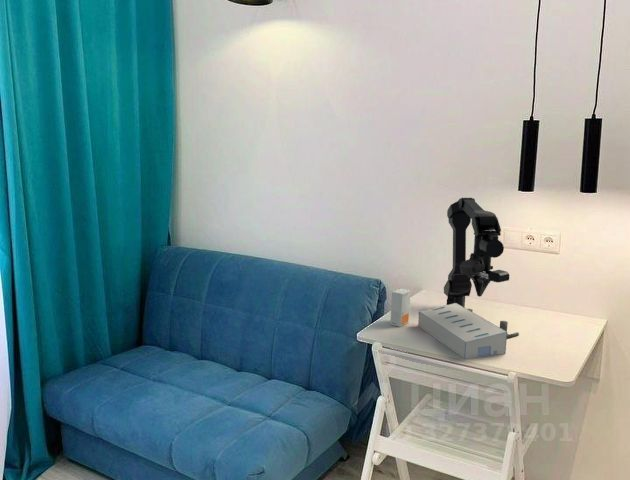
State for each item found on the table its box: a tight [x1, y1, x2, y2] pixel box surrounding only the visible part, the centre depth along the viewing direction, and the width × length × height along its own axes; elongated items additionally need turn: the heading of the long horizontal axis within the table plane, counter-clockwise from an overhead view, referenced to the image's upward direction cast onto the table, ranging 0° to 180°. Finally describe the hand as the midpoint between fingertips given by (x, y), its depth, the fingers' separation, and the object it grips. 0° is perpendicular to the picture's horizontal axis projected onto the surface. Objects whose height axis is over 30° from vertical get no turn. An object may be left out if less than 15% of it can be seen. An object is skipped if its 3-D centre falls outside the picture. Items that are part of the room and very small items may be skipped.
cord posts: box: [467, 308, 520, 339], centre depth 208 cm, size 8×24×5 cm, turn 34°
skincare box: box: [390, 287, 411, 328], centre depth 209 cm, size 6×4×12 cm
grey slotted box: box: [417, 303, 508, 360], centre depth 196 cm, size 30×14×8 cm, turn 18°
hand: (479, 296), depth 201 cm, fingers closed
